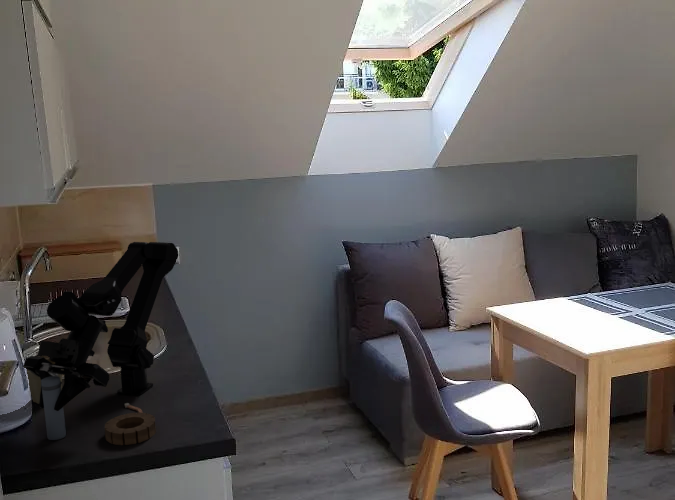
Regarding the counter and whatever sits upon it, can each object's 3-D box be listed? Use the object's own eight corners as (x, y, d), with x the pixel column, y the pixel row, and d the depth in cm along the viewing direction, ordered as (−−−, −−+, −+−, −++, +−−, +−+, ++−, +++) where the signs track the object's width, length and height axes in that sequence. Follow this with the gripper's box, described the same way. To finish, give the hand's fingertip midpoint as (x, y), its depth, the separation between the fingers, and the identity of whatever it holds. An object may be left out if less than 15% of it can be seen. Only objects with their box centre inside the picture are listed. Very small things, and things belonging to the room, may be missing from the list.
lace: (124, 406, 158) (124, 403, 158) (137, 403, 159) (137, 401, 159) (133, 426, 147) (133, 423, 147) (147, 423, 149) (147, 421, 148)
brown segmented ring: (122, 421, 150) (121, 410, 149) (164, 425, 147) (163, 414, 147) (96, 442, 140) (95, 431, 140) (140, 447, 138) (139, 435, 137)
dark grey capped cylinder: (54, 431, 146) (48, 375, 144) (70, 433, 145) (63, 376, 143) (43, 439, 143) (36, 382, 140) (58, 440, 142) (52, 383, 139)
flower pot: (64, 388, 170) (60, 355, 169) (72, 400, 162) (68, 366, 161) (23, 397, 165) (19, 363, 164) (29, 410, 157) (25, 375, 156)
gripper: (24, 319, 146) (-13, 388, 138) (94, 327, 140) (60, 399, 132) (55, 343, 155) (23, 409, 147) (123, 351, 148) (93, 420, 140)
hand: (48, 409), depth 141 cm, fingers closed on dark grey capped cylinder, 4 cm apart
